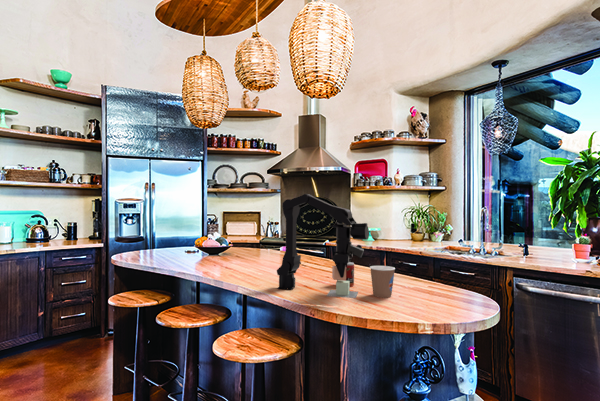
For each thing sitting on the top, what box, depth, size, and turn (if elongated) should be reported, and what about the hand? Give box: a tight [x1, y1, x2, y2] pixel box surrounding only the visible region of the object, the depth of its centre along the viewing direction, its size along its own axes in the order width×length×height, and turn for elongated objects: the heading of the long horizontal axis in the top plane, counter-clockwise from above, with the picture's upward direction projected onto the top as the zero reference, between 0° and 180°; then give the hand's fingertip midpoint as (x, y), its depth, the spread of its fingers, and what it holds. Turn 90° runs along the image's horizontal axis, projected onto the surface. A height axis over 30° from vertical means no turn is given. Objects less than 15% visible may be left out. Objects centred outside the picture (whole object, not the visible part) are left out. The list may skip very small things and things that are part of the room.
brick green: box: [335, 280, 351, 295], centre depth 153 cm, size 5×5×5 cm
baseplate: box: [326, 289, 359, 299], centre depth 153 cm, size 12×12×1 cm
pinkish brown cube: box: [331, 265, 346, 281], centre depth 153 cm, size 5×5×5 cm
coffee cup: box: [369, 265, 396, 299], centre depth 151 cm, size 10×10×12 cm
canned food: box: [336, 261, 355, 288], centre depth 170 cm, size 8×8×11 cm
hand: (342, 276), depth 153 cm, fingers closed on pinkish brown cube, 5 cm apart
